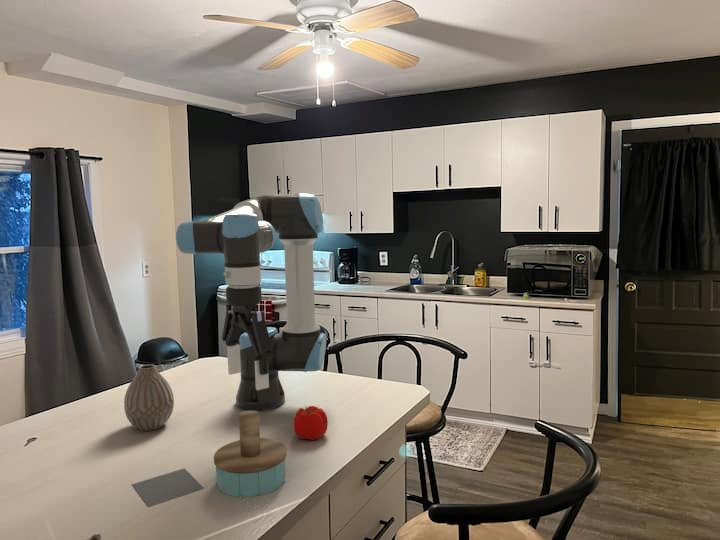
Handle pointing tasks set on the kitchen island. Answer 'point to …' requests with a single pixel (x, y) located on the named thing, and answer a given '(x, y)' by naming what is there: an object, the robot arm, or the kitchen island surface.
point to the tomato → (310, 423)
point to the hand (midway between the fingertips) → (247, 380)
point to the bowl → (251, 481)
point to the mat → (166, 487)
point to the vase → (148, 399)
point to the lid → (250, 449)
